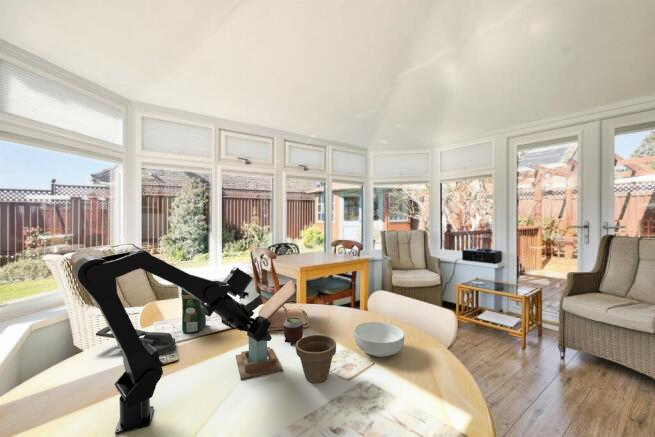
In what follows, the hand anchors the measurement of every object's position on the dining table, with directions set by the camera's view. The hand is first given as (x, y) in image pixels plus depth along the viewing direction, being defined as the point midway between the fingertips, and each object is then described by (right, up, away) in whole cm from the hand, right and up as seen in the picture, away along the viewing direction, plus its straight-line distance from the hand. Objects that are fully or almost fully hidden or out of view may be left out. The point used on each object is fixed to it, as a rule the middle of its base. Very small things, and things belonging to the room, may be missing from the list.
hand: (261, 335), depth 92 cm
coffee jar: (-33, -8, +26) cm, 43 cm away
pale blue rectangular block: (-1, -8, -1) cm, 8 cm away
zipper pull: (-45, -9, +10) cm, 47 cm away
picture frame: (-1, -9, -1) cm, 9 cm away
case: (+2, -8, +34) cm, 35 cm away
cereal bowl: (+38, -9, +7) cm, 40 cm away
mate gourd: (+8, -8, +14) cm, 18 cm away
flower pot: (+17, -9, -8) cm, 21 cm away
